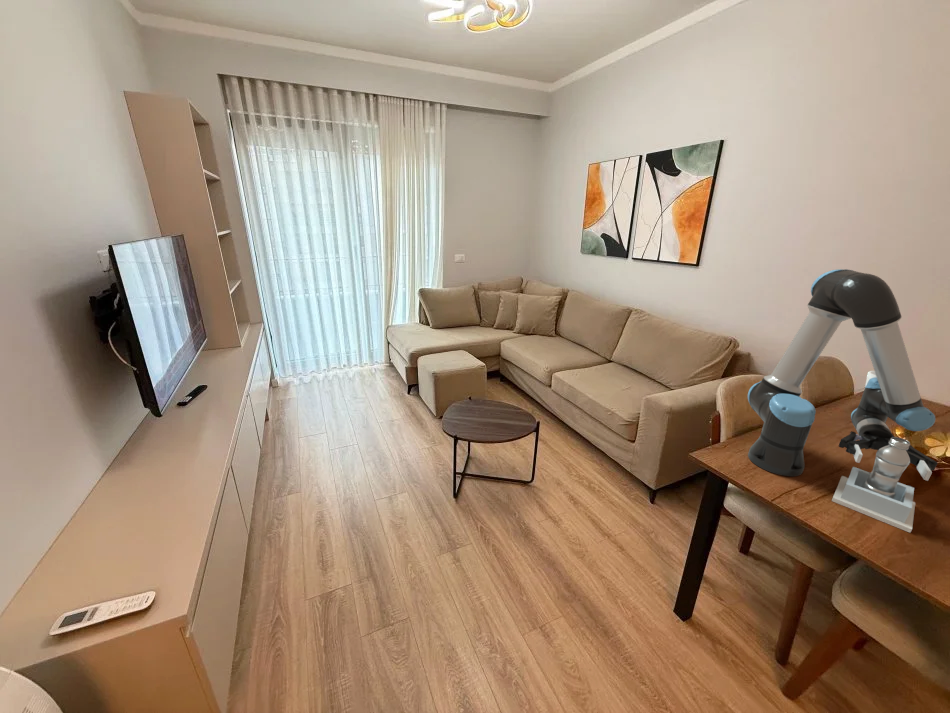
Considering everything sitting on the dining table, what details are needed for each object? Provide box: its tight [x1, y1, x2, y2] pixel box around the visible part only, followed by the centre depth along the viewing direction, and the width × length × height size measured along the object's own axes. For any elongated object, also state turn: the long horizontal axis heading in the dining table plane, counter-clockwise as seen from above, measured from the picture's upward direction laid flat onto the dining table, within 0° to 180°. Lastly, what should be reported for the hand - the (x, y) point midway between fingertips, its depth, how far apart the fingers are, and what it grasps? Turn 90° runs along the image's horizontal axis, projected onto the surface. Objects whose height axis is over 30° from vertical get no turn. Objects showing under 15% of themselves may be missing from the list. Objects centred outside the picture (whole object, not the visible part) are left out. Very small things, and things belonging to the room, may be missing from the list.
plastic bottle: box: [862, 436, 911, 499], centre depth 109 cm, size 6×7×20 cm
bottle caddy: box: [831, 466, 916, 533], centre depth 112 cm, size 16×16×6 cm
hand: (892, 467), depth 107 cm, fingers open, 13 cm apart
